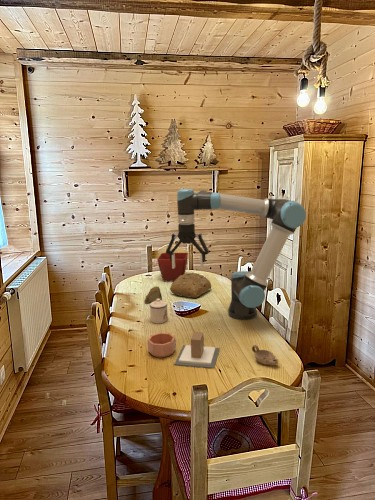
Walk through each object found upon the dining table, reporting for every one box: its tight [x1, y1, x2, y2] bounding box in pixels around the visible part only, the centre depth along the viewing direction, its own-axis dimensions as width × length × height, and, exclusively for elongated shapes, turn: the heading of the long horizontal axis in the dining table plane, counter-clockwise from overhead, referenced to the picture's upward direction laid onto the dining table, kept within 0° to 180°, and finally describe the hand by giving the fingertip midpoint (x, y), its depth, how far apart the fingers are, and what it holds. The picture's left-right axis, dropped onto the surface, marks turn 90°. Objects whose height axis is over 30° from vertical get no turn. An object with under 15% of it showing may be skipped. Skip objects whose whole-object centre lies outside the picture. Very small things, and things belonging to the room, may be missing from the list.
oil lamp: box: [251, 344, 279, 366], centre depth 149 cm, size 13×8×5 cm, turn 32°
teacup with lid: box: [149, 299, 168, 324], centre depth 192 cm, size 12×9×12 cm
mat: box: [174, 344, 220, 369], centre depth 154 cm, size 16×16×1 cm
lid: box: [179, 331, 216, 365], centre depth 153 cm, size 13×13×9 cm
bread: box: [169, 272, 212, 299], centre depth 232 cm, size 24×21×12 cm
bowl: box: [147, 332, 177, 358], centre depth 159 cm, size 11×11×6 cm
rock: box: [144, 286, 163, 304], centre depth 218 cm, size 11×9×10 cm
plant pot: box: [157, 252, 189, 282], centre depth 259 cm, size 19×19×17 cm
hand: (187, 268), depth 174 cm, fingers open, 13 cm apart
